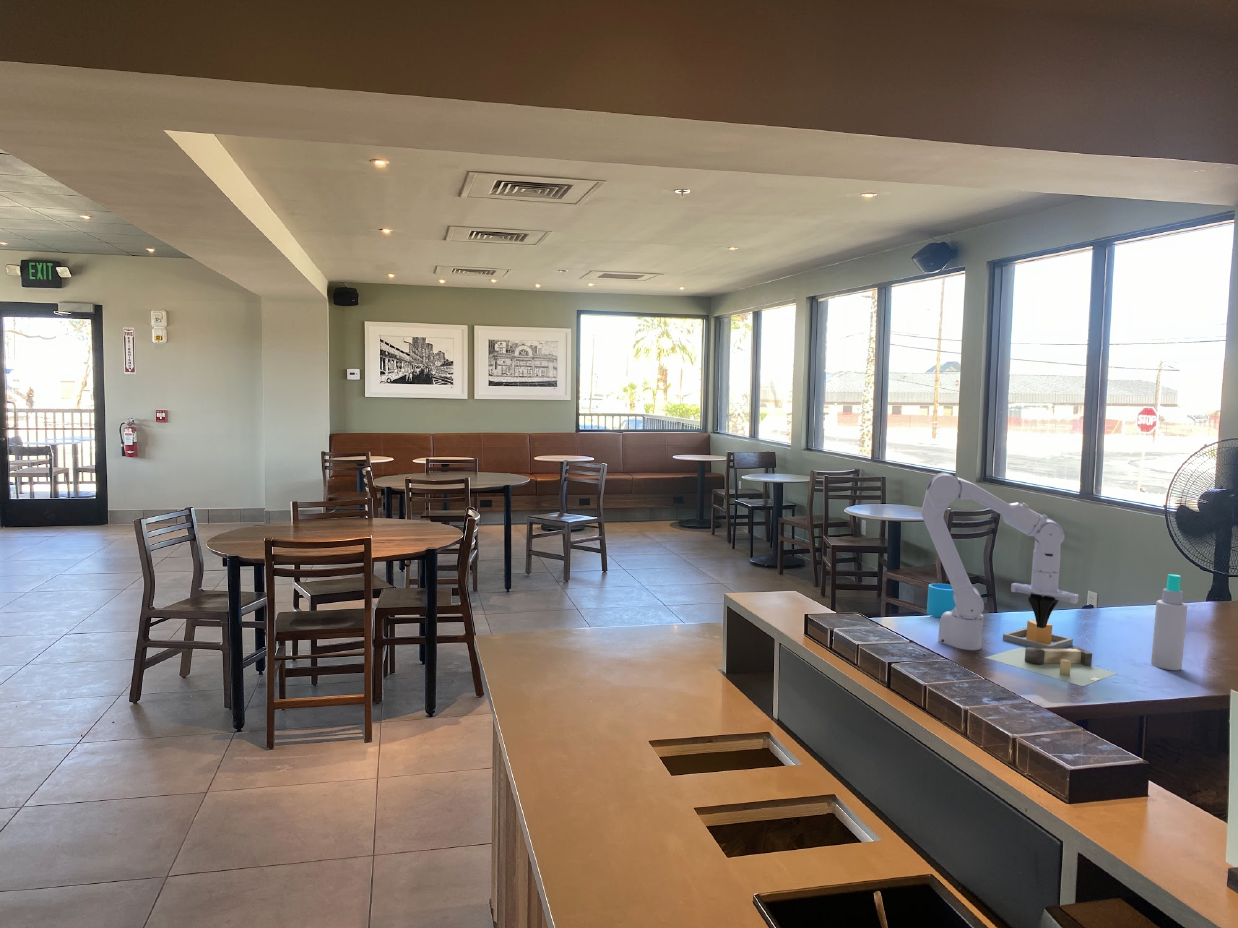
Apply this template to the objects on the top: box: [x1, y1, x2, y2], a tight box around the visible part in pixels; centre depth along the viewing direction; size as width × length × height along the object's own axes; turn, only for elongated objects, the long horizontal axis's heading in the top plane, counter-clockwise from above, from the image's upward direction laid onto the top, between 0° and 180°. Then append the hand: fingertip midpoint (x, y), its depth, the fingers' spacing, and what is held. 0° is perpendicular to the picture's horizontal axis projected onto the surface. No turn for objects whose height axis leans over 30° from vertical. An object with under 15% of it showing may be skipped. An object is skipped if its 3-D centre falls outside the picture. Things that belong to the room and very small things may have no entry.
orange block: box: [1025, 620, 1053, 645], centre depth 205 cm, size 4×4×6 cm
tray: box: [1002, 627, 1074, 649], centre depth 206 cm, size 12×12×3 cm
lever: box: [1025, 646, 1093, 666], centre depth 190 cm, size 14×5×3 cm, turn 96°
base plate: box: [984, 646, 1118, 687], centre depth 187 cm, size 22×16×4 cm
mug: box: [926, 583, 956, 618], centre depth 235 cm, size 12×8×8 cm
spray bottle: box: [1150, 573, 1188, 672], centre depth 193 cm, size 6×6×22 cm
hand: (1041, 626), depth 195 cm, fingers closed
